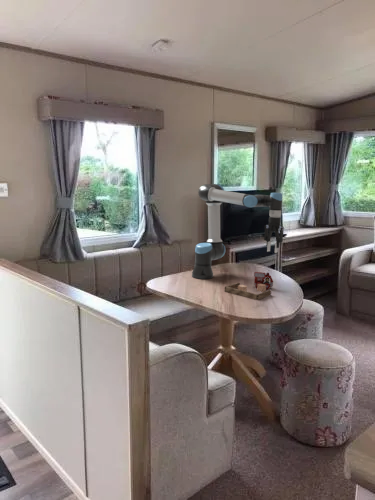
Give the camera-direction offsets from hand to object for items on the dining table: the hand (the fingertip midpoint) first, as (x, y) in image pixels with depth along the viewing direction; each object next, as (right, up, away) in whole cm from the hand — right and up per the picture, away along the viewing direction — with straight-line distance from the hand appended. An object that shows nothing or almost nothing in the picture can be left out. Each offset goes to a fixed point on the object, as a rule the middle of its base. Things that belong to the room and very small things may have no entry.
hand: (272, 251), depth 271 cm
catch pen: (-19, -25, -16) cm, 35 cm away
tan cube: (-9, -25, -9) cm, 28 cm away
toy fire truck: (-7, -24, -2) cm, 25 cm away
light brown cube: (-23, -23, -15) cm, 36 cm away
